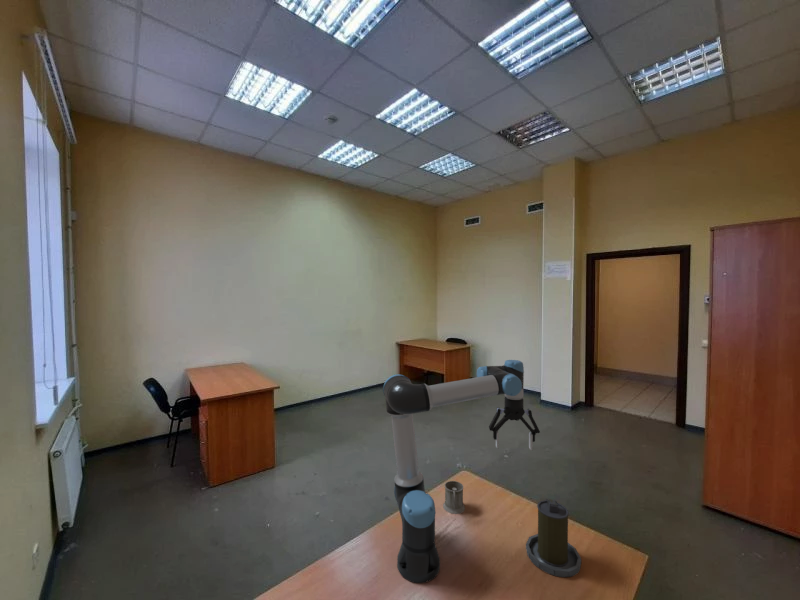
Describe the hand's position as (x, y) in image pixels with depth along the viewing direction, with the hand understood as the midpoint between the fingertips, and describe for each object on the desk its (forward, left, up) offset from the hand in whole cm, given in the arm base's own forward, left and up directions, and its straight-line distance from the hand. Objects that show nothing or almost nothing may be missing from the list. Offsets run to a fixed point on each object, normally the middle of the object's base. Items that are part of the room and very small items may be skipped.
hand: (513, 448), depth 138 cm
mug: (-24, +8, -33) cm, 42 cm away
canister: (+11, -16, -32) cm, 37 cm away
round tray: (+11, -15, -33) cm, 38 cm away
